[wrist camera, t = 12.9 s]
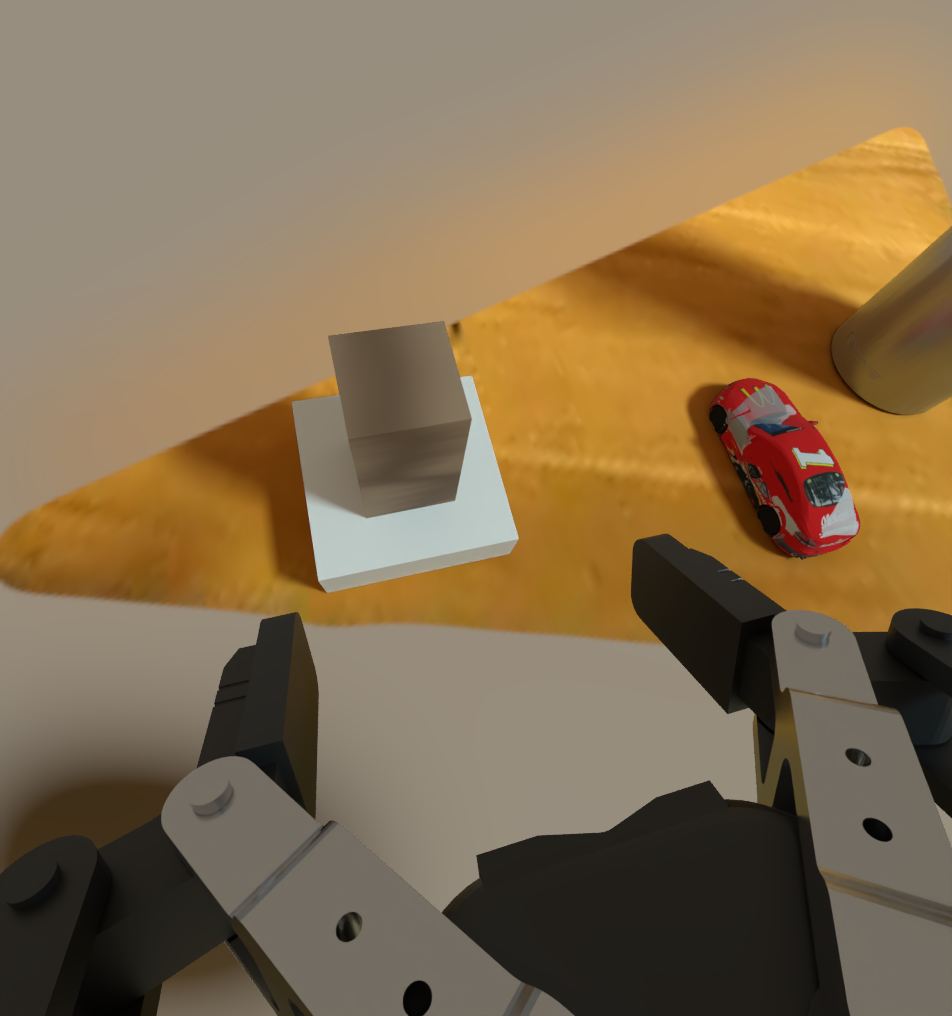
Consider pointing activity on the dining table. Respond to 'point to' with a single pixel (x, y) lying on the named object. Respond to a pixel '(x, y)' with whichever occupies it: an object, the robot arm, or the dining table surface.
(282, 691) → the robot arm
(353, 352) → the walnut block
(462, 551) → the riser
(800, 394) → the dining table surface
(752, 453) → the race car
